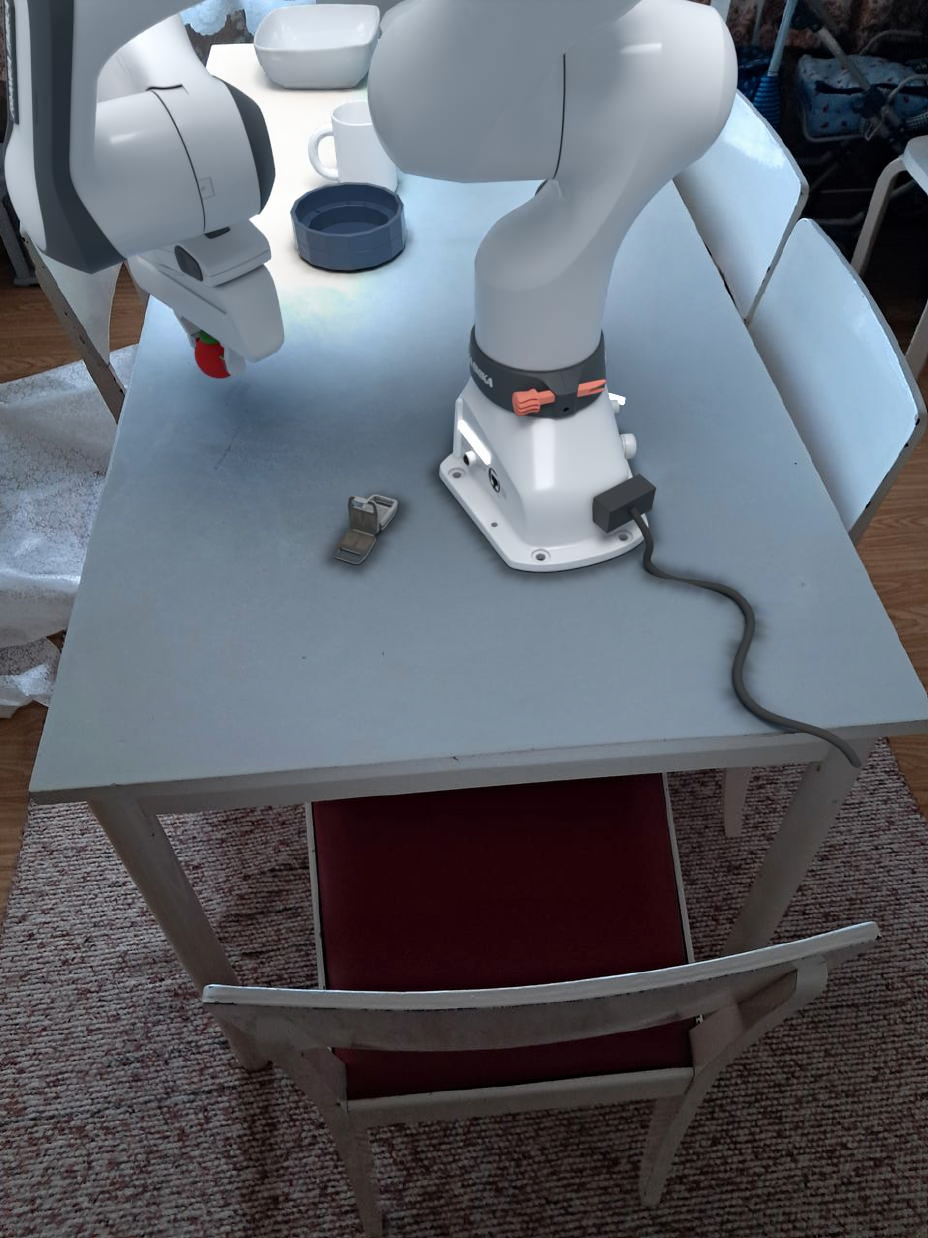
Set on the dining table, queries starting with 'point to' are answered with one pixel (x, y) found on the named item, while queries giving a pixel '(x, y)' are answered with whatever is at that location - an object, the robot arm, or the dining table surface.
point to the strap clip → (365, 525)
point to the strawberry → (209, 356)
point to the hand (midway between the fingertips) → (219, 359)
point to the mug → (354, 148)
